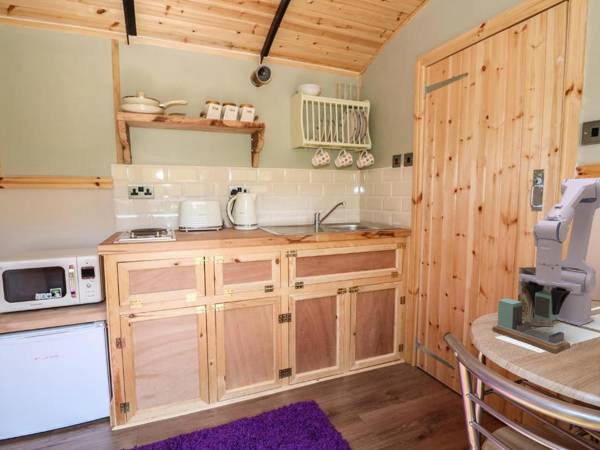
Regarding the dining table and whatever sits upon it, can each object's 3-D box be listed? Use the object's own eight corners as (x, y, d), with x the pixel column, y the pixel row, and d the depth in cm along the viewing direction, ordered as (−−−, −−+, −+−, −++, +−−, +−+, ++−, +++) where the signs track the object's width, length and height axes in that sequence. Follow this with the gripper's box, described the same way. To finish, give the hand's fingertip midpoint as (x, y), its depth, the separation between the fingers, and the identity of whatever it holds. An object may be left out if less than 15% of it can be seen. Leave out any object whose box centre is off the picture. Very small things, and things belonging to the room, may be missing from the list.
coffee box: (554, 327, 99) (557, 273, 98) (530, 326, 100) (533, 273, 99) (538, 316, 108) (540, 266, 107) (516, 315, 109) (518, 266, 108)
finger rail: (507, 326, 101) (508, 296, 100) (569, 347, 86) (571, 313, 86) (492, 330, 97) (493, 300, 97) (555, 353, 83) (556, 318, 82)
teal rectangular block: (542, 314, 97) (543, 290, 96) (558, 318, 93) (559, 293, 93) (533, 317, 95) (534, 292, 94) (548, 321, 91) (550, 296, 91)
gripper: (513, 261, 98) (511, 306, 99) (571, 270, 85) (569, 322, 86) (527, 258, 101) (525, 302, 102) (586, 267, 88) (583, 317, 89)
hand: (546, 311), depth 94 cm, fingers closed on teal rectangular block, 4 cm apart
